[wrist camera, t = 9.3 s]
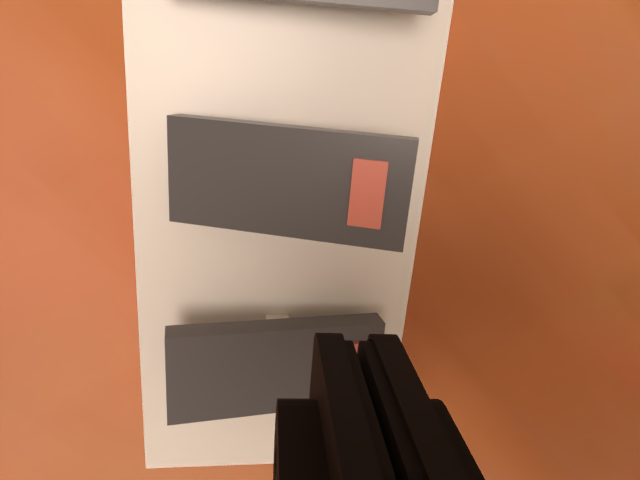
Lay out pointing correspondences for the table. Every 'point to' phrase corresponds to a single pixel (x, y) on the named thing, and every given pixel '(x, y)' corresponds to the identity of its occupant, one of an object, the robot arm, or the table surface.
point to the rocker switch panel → (255, 248)
